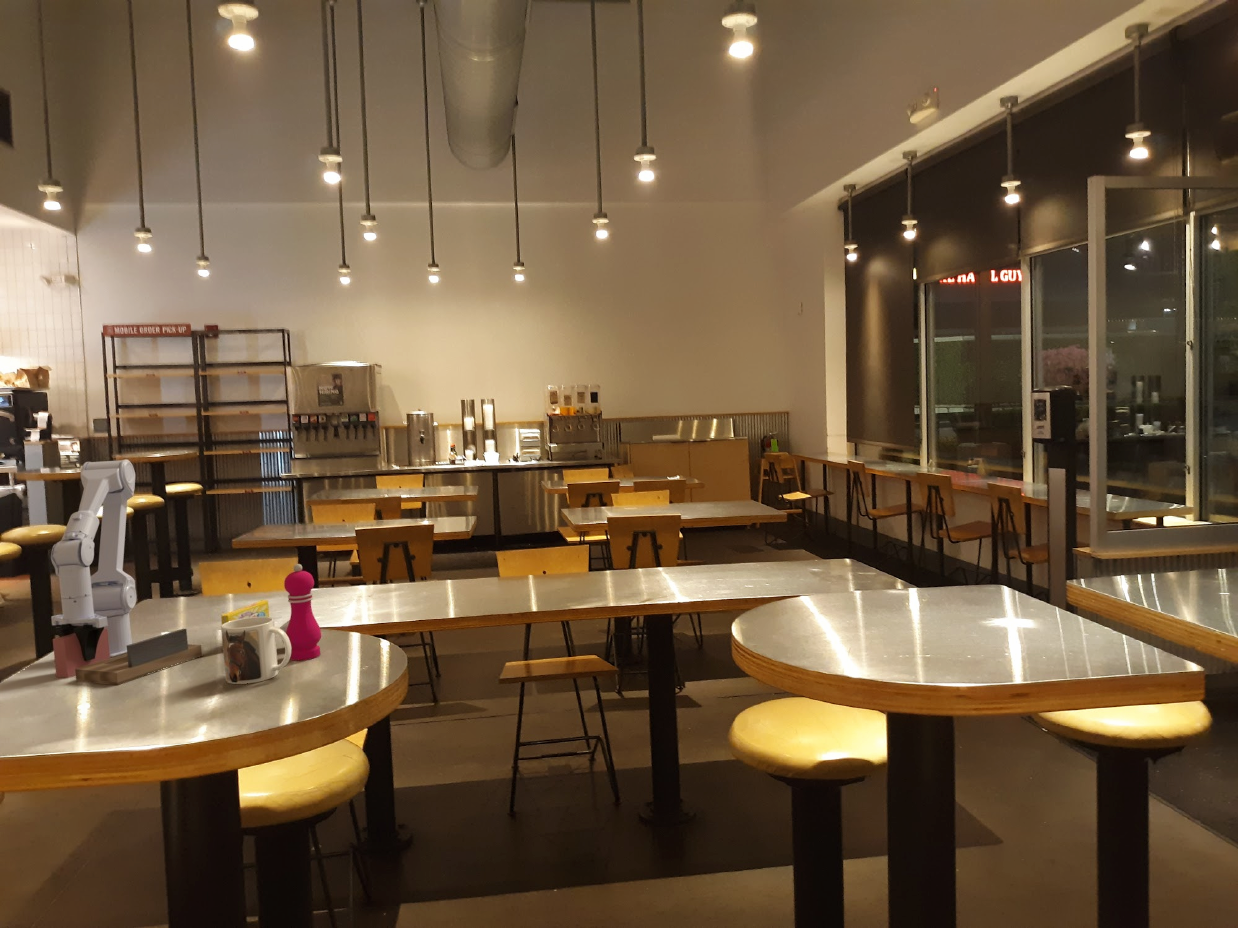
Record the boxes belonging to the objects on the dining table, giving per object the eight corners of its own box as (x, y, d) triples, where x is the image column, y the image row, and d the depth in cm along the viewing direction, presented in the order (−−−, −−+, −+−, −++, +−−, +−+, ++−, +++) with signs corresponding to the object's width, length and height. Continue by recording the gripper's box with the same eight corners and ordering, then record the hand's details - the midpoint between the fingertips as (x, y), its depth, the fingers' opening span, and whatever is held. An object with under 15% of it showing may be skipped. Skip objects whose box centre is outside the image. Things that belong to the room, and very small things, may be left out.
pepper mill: (329, 652, 203) (322, 560, 202) (308, 661, 196) (300, 567, 195) (302, 651, 205) (294, 560, 204) (280, 660, 198) (272, 567, 197)
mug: (269, 666, 194) (264, 613, 194) (295, 675, 186) (290, 620, 185) (217, 678, 187) (212, 624, 186) (242, 689, 179) (237, 632, 178)
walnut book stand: (76, 681, 192) (75, 669, 192) (162, 653, 211) (161, 642, 211) (117, 684, 187) (116, 672, 187) (202, 656, 206) (201, 645, 206)
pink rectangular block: (56, 676, 196) (52, 638, 196) (99, 663, 205) (95, 627, 205) (67, 677, 195) (64, 639, 194) (110, 664, 204) (107, 628, 204)
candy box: (230, 651, 209) (227, 615, 209) (222, 651, 210) (218, 615, 209) (271, 633, 225) (268, 599, 225) (263, 633, 226) (260, 599, 225)
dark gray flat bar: (128, 667, 190) (126, 645, 190) (184, 649, 203) (182, 628, 203) (132, 667, 190) (129, 645, 190) (188, 649, 203) (186, 628, 203)
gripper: (35, 599, 198) (41, 662, 199) (83, 601, 193) (89, 666, 193) (66, 592, 205) (72, 653, 206) (113, 593, 199) (119, 656, 200)
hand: (82, 659), depth 200 cm, fingers closed on pink rectangular block, 3 cm apart
